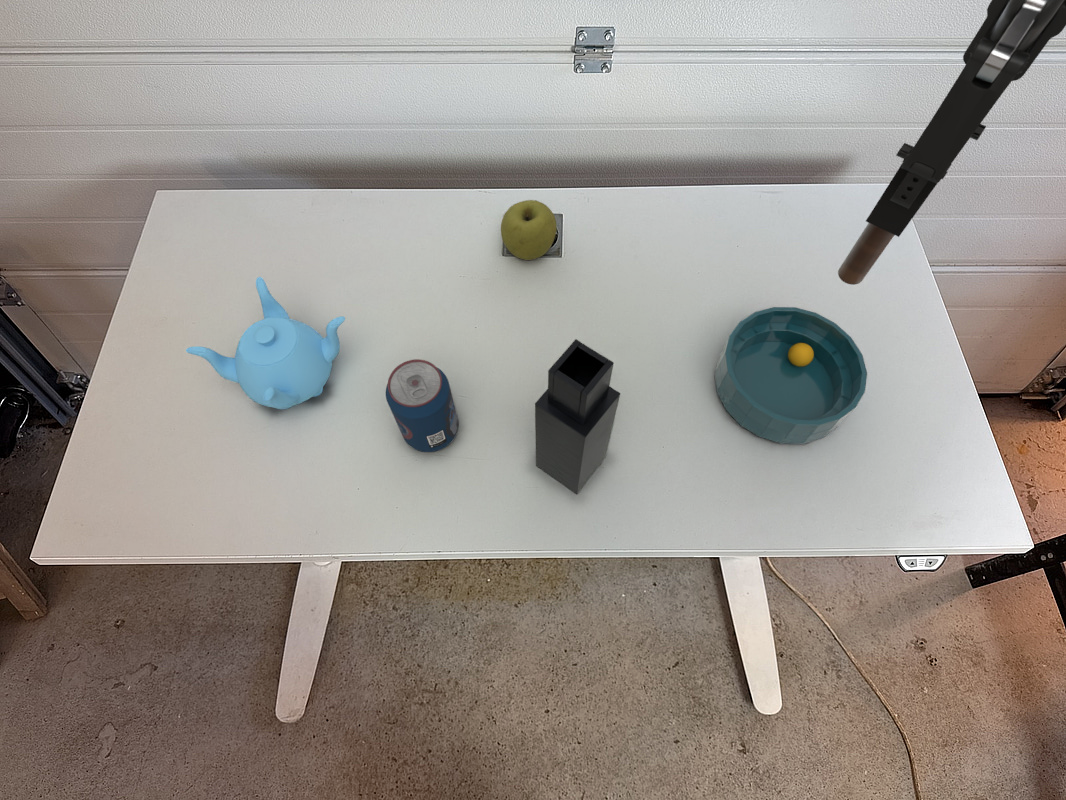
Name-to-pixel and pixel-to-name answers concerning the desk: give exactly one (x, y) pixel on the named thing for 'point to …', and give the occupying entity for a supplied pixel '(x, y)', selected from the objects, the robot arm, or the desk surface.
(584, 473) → the holder
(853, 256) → the stick
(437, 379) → the soda can
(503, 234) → the apple
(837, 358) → the bowl
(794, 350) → the ball
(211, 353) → the teapot
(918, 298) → the desk surface
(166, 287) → the desk surface
